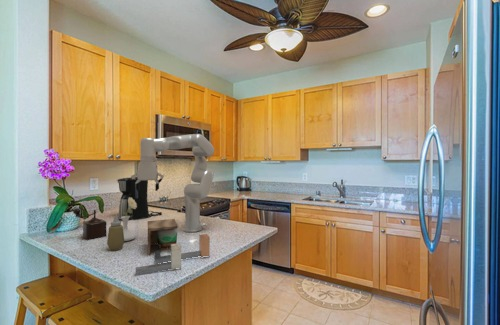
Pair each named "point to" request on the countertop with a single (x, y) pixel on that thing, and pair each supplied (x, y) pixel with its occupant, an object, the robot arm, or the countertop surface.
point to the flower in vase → (127, 233)
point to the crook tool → (203, 251)
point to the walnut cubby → (158, 226)
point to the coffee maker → (140, 197)
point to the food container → (167, 237)
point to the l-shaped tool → (164, 266)
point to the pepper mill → (92, 226)
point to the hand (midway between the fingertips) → (147, 190)
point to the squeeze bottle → (115, 235)
